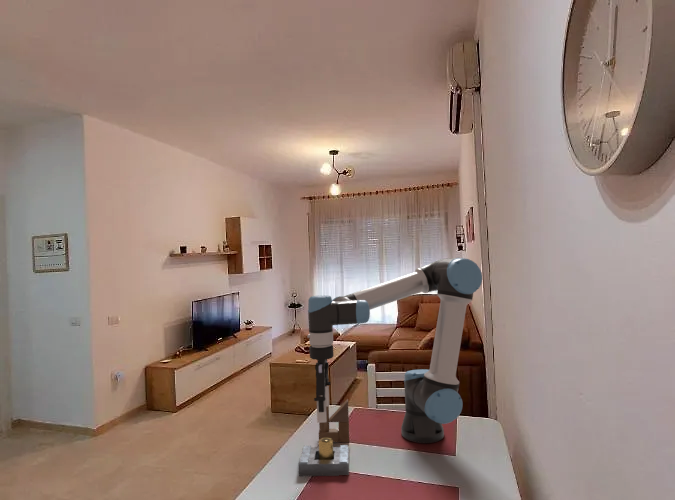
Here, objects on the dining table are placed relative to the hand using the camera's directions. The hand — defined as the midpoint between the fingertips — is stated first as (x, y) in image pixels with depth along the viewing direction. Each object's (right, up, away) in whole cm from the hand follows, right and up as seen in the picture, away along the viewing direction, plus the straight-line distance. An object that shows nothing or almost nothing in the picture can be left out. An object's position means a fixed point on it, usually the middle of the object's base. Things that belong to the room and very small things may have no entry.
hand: (323, 413), depth 127 cm
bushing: (+1, -16, -1) cm, 16 cm away
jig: (0, -16, 0) cm, 16 cm away
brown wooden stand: (+3, -17, +18) cm, 25 cm away
